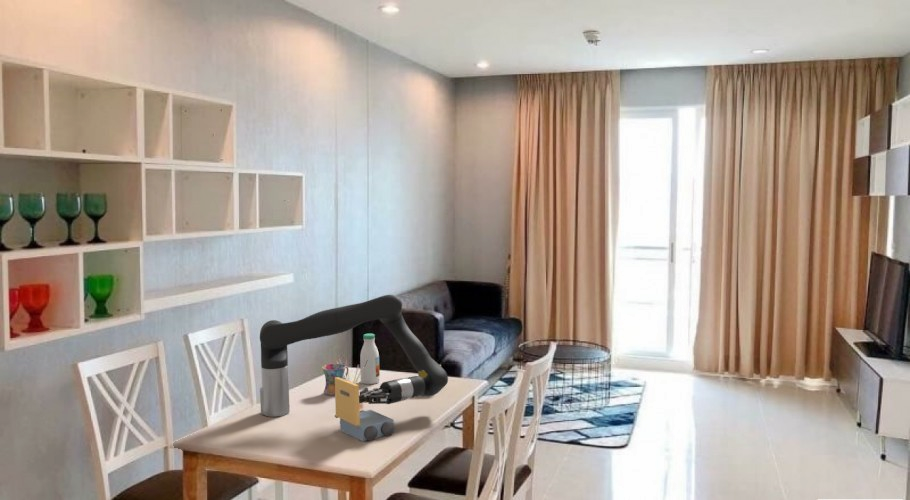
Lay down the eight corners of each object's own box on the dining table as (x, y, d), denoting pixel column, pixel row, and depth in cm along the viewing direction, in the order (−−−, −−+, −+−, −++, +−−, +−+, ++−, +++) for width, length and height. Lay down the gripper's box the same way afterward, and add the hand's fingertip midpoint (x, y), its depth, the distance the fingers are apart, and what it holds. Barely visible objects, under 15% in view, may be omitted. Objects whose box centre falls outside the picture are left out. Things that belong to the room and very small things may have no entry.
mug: (334, 398, 277) (333, 370, 276) (317, 394, 283) (316, 367, 282) (356, 390, 286) (356, 364, 285) (340, 386, 292) (339, 361, 291)
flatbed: (368, 421, 250) (368, 408, 249) (396, 433, 237) (395, 420, 237) (338, 429, 242) (338, 416, 242) (364, 442, 230) (364, 428, 229)
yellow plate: (337, 416, 241) (336, 376, 240) (361, 428, 229) (360, 385, 228) (333, 418, 240) (332, 377, 239) (357, 429, 228) (356, 386, 227)
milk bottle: (371, 385, 293) (370, 337, 291) (357, 383, 297) (355, 335, 295) (383, 381, 300) (382, 333, 298) (368, 378, 304) (367, 331, 302)
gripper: (385, 376, 251) (341, 385, 240) (407, 383, 241) (363, 394, 230) (386, 397, 252) (342, 407, 241) (408, 405, 242) (363, 417, 231)
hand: (352, 400), depth 235 cm, fingers closed
